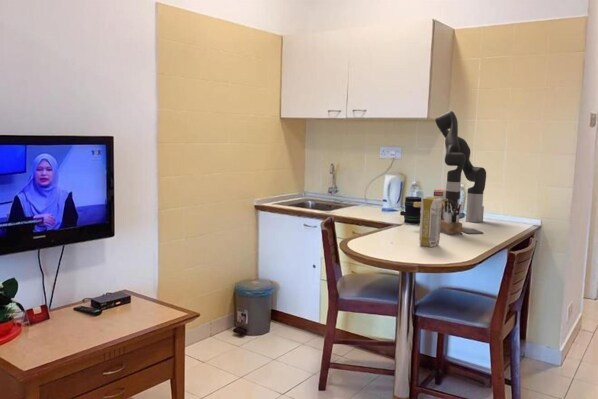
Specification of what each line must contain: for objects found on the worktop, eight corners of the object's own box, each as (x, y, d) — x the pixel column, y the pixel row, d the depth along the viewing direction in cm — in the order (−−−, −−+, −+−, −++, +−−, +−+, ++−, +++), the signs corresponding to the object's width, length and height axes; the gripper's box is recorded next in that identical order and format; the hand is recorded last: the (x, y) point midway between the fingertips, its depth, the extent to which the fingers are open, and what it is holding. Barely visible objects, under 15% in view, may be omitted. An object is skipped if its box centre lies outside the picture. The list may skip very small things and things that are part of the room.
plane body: (444, 227, 298) (445, 216, 297) (462, 234, 278) (463, 223, 277) (430, 227, 296) (431, 217, 296) (447, 235, 276) (448, 223, 276)
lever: (442, 217, 295) (443, 201, 294) (445, 218, 292) (446, 202, 291) (412, 217, 292) (413, 201, 291) (414, 218, 289) (415, 202, 288)
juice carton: (425, 242, 257) (428, 194, 254) (441, 245, 252) (443, 195, 249) (417, 245, 250) (419, 195, 246) (432, 248, 245) (435, 197, 242)
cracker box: (431, 224, 306) (433, 189, 304) (433, 222, 312) (435, 188, 309) (455, 227, 300) (458, 190, 297) (458, 225, 305) (460, 189, 302)
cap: (454, 221, 284) (454, 212, 283) (458, 222, 279) (459, 213, 279) (444, 221, 283) (444, 212, 282) (448, 223, 278) (448, 213, 277)
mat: (473, 230, 291) (473, 228, 291) (483, 233, 281) (483, 232, 281) (458, 230, 289) (459, 229, 289) (468, 234, 280) (468, 232, 279)
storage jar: (419, 221, 317) (420, 196, 315) (421, 224, 307) (423, 198, 305) (402, 220, 318) (404, 196, 316) (404, 223, 308) (405, 198, 306)
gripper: (440, 188, 285) (438, 219, 287) (453, 191, 271) (451, 224, 273) (453, 188, 286) (451, 219, 289) (466, 191, 272) (464, 223, 275)
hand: (451, 221), depth 281 cm, fingers closed on cap, 5 cm apart
